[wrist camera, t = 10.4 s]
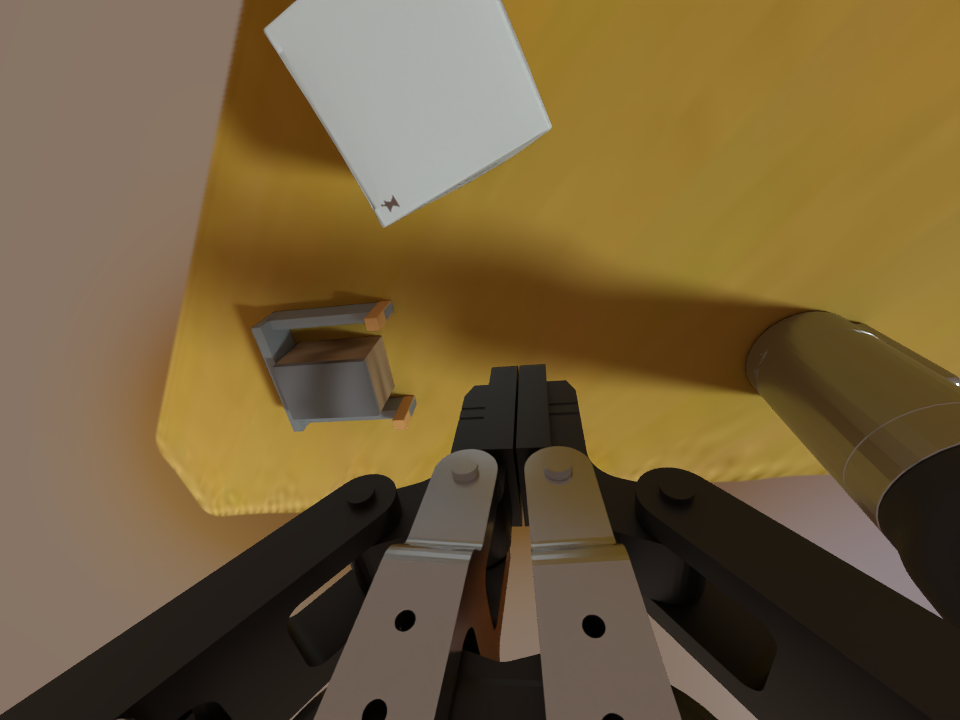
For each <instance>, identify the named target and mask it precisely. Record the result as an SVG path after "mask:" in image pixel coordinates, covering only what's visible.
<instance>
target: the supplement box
mask: <svg viewBox="0 0 960 720" xmlns="http://www.w3.org/2000/svg"><path fill="white" fill-rule="evenodd" d="M263 30H264V33H265V35H266V36H267V38H268V40H269V41H270V43H271V44H272V46H273V47H274V49H275V50H276V52H277V53H278V55H279V56H280V58H281V59H282V61H283V63H284V64H285V66H286V67H287V69H288V70H289V72H290V74H291V75H292V77H293V78H294V80H295V81H296V83H297V85H298V86H299V88H300V89H301V91H302V92H303V94H304V96H305V97H306V99H307V100H308V102H309V104H310V105H311V107H312V108H313V110H314V111H315V113H316V115H317V116H318V118H319V119H320V121H321V123H322V124H323V126H324V127H325V129H326V131H327V132H328V134H329V136H330V137H331V139H332V140H333V142H334V144H335V145H336V147H337V149H338V150H339V152H340V154H341V155H342V157H343V159H344V160H345V162H346V164H347V166H348V167H349V169H350V171H351V172H352V174H353V176H354V177H355V179H356V181H357V183H358V184H359V186H360V188H361V189H362V191H363V193H364V195H365V196H366V198H367V200H368V201H369V203H370V205H371V207H372V209H373V210H374V212H375V214H376V216H377V218H378V220H379V222H380V224H381V225H382V227H386V226H388V225H390V224H392V223H394V222H396V221H397V220H399V219H401V218H403V217H405V216H406V215H408V214H410V213H412V212H414V211H415V210H417V209H419V208H421V207H423V206H425V205H427V204H429V203H431V202H433V201H435V200H437V199H439V198H441V197H442V196H444V195H446V194H448V193H450V192H452V191H454V190H456V189H458V188H460V187H461V186H463V185H465V184H467V183H469V182H471V181H472V180H474V179H476V178H477V177H479V176H481V175H483V174H484V173H486V172H488V171H490V170H491V169H493V168H495V167H497V166H499V165H500V164H502V163H504V162H505V161H506V160H508V159H509V158H511V157H512V156H514V155H515V154H517V153H518V152H520V151H521V150H523V149H524V148H526V147H527V146H528V145H530V144H531V143H533V142H534V141H535V140H537V139H538V138H539V137H541V136H542V135H544V134H545V133H546V132H548V131H549V130H550V129H551V127H552V125H551V123H550V120H549V118H548V115H547V113H546V110H545V107H544V105H543V102H542V100H541V97H540V95H539V92H538V89H537V87H536V84H535V82H534V79H533V77H532V74H531V71H530V69H529V66H528V64H527V61H526V59H525V56H524V54H523V51H522V49H521V47H520V44H519V42H518V39H517V37H516V34H515V32H514V29H513V27H512V25H511V22H510V20H509V17H508V15H507V12H506V10H505V8H504V5H503V3H502V0H296V1H295V2H294V3H292V4H291V5H290V6H289V7H288V8H287V9H286V10H285V11H284V12H282V13H281V14H280V15H279V16H278V17H277V18H276V19H274V20H273V21H272V22H271V23H270V24H268V25H267V26H266V27H265V28H264V29H263Z"/></svg>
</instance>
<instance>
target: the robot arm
mask: <svg viewBox="0 0 960 720" xmlns="http://www.w3.org/2000/svg"><path fill="white" fill-rule="evenodd" d="M746 372H747V377H748V379H749V381H750V383H751V385H752V386H753V387H754V388H755V389H756V390H757V392H758V393H759V394H760V395H761V396H762V397H763V398H764V400H765V401H766V402H767V403H768V404H769V405H770V406H771V408H772V409H773V410H774V411H775V412H776V413H777V415H778V416H779V417H780V418H781V419H782V420H783V421H784V422H785V424H786V425H787V426H788V427H789V428H790V429H791V430H792V432H793V433H794V434H795V435H796V436H797V437H798V438H799V439H800V441H801V442H802V443H803V444H804V445H805V446H806V447H807V449H808V450H809V451H810V452H811V453H812V454H813V455H814V456H815V458H816V459H817V460H818V461H819V462H820V463H821V464H822V466H823V467H824V468H825V469H826V470H827V471H828V472H829V473H830V475H831V476H832V477H833V478H834V479H835V480H836V481H837V483H838V484H839V485H840V486H841V487H842V488H843V489H844V490H845V492H846V493H847V494H848V495H849V496H850V497H851V498H852V499H853V500H854V502H855V503H857V505H858V506H859V507H860V508H861V510H862V511H863V512H864V513H865V514H866V515H867V516H868V517H869V519H870V520H871V521H872V522H873V523H874V524H875V525H876V526H877V528H878V529H879V530H880V531H881V532H882V533H883V534H884V536H886V538H887V539H888V540H889V541H890V542H891V544H892V545H893V546H894V547H895V548H896V549H897V550H898V553H899V555H900V558H901V560H902V562H903V565H904V567H905V569H906V571H907V572H908V574H909V576H910V577H911V579H912V580H913V582H914V583H915V584H916V586H917V587H918V588H919V589H920V591H921V592H922V593H923V595H924V596H925V597H926V598H927V600H928V601H929V602H930V603H931V604H932V606H933V607H934V608H935V609H936V611H937V612H938V613H939V614H940V615H941V617H942V618H943V619H944V620H943V619H942V618H940V617H938V616H937V615H935V614H933V613H932V612H930V611H928V610H926V609H925V608H923V607H921V606H920V605H918V604H916V603H915V602H913V601H911V600H909V599H908V598H906V597H904V596H903V595H901V594H899V593H897V592H896V591H894V590H892V589H891V588H889V587H887V586H886V585H884V584H882V583H880V582H879V581H877V580H875V579H874V578H872V577H870V576H869V575H867V574H865V573H863V572H862V571H860V570H858V569H856V568H855V567H853V566H851V565H850V564H848V563H846V562H845V561H843V560H841V559H839V558H838V557H836V556H834V555H833V554H831V553H829V552H828V551H826V550H824V549H822V548H821V547H819V546H817V545H816V544H814V543H812V542H810V541H809V540H807V539H805V538H804V537H802V536H800V535H799V534H797V533H795V532H793V531H792V530H790V529H788V528H787V527H785V526H783V525H782V524H780V523H778V522H777V521H775V520H773V519H771V518H770V517H768V516H766V515H765V514H763V513H761V512H759V511H758V510H756V509H754V508H753V507H751V506H749V505H747V504H746V503H744V502H742V501H741V500H739V499H737V498H736V497H734V496H732V495H731V494H729V493H727V492H725V491H724V490H722V489H720V488H719V487H717V486H715V485H713V484H712V483H710V482H708V481H707V480H705V479H703V478H702V477H700V476H698V475H696V474H694V473H691V472H689V471H686V470H682V469H677V468H657V469H653V470H650V471H648V472H646V473H644V474H643V475H642V476H641V477H640V478H639V479H638V481H637V482H635V481H630V480H625V479H621V478H617V477H614V476H611V475H609V474H606V473H605V472H603V471H601V470H600V469H598V468H597V467H596V466H595V465H594V464H593V463H592V462H591V461H590V459H589V457H588V455H587V451H586V445H585V440H584V434H583V429H582V423H581V418H580V412H579V406H578V401H577V395H576V390H575V389H574V388H573V387H572V386H571V385H570V384H569V383H568V382H567V381H566V380H563V381H547V380H546V366H545V364H537V365H522V366H520V367H519V370H518V366H508V367H492V370H491V376H490V382H489V385H479V386H474V387H473V388H472V389H471V390H470V391H469V392H468V393H467V394H466V396H465V397H464V401H463V405H462V410H461V414H460V420H459V422H458V426H457V430H456V434H455V438H454V442H453V446H452V450H451V454H449V455H447V456H446V457H444V458H443V459H442V460H441V461H440V462H439V463H438V464H437V465H436V467H435V469H434V471H433V474H432V477H431V478H430V479H428V480H425V481H423V482H420V483H417V484H413V485H410V486H406V487H402V488H399V489H396V487H395V484H394V482H393V481H392V480H391V479H390V478H388V477H387V476H384V475H379V474H370V475H364V476H360V477H358V478H355V479H353V480H351V481H349V482H347V483H346V484H344V485H343V486H341V487H340V488H338V489H337V490H335V491H334V492H332V493H331V494H329V495H328V496H326V497H325V498H323V499H322V500H320V501H319V502H317V503H316V504H314V505H313V506H311V507H310V508H308V509H307V510H305V511H304V512H302V513H301V514H299V515H298V516H296V517H295V518H293V519H292V520H291V521H289V522H288V523H286V524H285V525H283V526H282V527H280V528H279V529H277V530H276V531H274V532H273V533H271V534H270V535H268V536H267V537H265V538H264V539H262V540H261V541H259V542H258V543H256V544H255V545H253V546H252V547H250V548H249V549H247V550H246V551H244V552H243V553H241V554H240V555H238V556H237V557H235V558H234V559H232V560H231V561H229V562H228V563H226V564H225V565H223V566H222V567H220V568H219V569H218V570H216V571H214V572H213V573H211V574H210V575H209V576H207V577H206V578H204V579H203V580H201V581H200V582H198V583H197V584H195V585H194V586H192V587H191V588H189V589H188V590H186V591H185V592H183V593H182V594H180V595H179V596H177V597H176V598H174V599H173V600H171V601H170V602H168V603H167V604H165V605H164V606H162V607H161V608H159V609H158V610H156V611H155V612H153V613H152V614H150V615H149V616H147V617H146V618H144V619H143V620H141V621H140V622H138V623H137V624H135V625H134V626H132V627H131V628H129V629H128V630H126V631H125V632H124V633H122V634H121V635H119V636H117V637H116V638H115V639H113V640H112V641H110V642H109V643H107V644H106V645H104V646H103V647H101V648H100V649H98V650H97V651H95V652H94V653H92V654H91V655H89V656H88V657H86V658H85V659H84V660H82V661H80V662H79V663H77V664H76V665H74V666H73V667H71V668H70V669H68V670H67V671H65V672H64V673H62V674H61V675H60V676H58V677H57V678H55V679H53V680H52V681H50V682H49V683H48V684H46V685H45V686H43V687H42V688H40V689H38V690H37V691H36V692H34V693H33V694H31V695H30V696H28V697H27V698H25V699H24V700H22V701H21V702H19V703H18V704H16V705H15V706H13V707H12V708H10V709H9V710H7V711H6V712H4V713H3V714H1V715H0V720H289V719H290V718H292V717H293V715H295V714H296V713H297V712H298V711H299V710H300V709H301V708H302V707H303V706H304V705H305V704H306V703H307V702H308V701H309V700H310V699H311V698H312V697H313V696H314V695H315V694H316V693H317V692H318V691H320V690H321V689H322V687H324V686H325V685H326V684H327V683H328V682H329V681H330V682H329V685H328V687H327V688H326V689H325V690H324V691H322V692H321V693H320V694H318V696H316V697H315V698H314V699H313V700H312V701H311V702H310V703H309V704H307V705H306V706H305V708H303V709H302V710H301V711H300V712H299V714H298V715H297V716H296V717H295V718H294V719H293V720H718V719H716V718H715V717H714V716H713V715H712V714H711V713H710V712H709V711H708V710H707V709H705V708H704V707H703V706H701V705H700V704H699V703H698V702H696V701H695V700H694V699H692V698H691V697H689V696H688V695H687V694H685V693H684V692H682V691H680V690H678V689H677V688H675V687H674V686H672V685H670V682H669V679H668V676H667V673H666V670H665V667H664V664H663V661H662V657H661V655H660V651H659V648H658V645H657V642H656V639H655V636H654V633H653V630H652V627H651V623H650V620H649V617H648V614H649V615H650V616H651V617H652V618H653V619H654V620H655V621H656V622H657V623H658V624H659V625H660V626H661V627H662V628H663V629H665V630H666V632H668V633H669V634H670V635H671V636H672V637H673V638H674V639H675V640H676V641H677V642H678V643H679V644H680V645H681V646H682V647H683V648H684V649H685V650H686V651H687V652H688V653H689V654H690V655H691V656H693V658H695V659H696V660H697V661H698V662H699V663H700V664H701V665H702V666H703V667H704V668H705V669H706V670H707V671H708V672H709V673H710V674H711V675H712V676H713V677H714V678H715V679H716V680H717V681H718V682H720V683H721V684H722V685H723V686H724V687H725V688H726V689H727V690H728V691H729V692H730V693H731V694H732V695H733V696H734V697H735V698H736V699H737V700H738V701H739V702H740V703H741V704H742V705H743V706H745V707H746V708H747V709H748V710H749V711H750V712H751V713H752V714H753V715H754V716H755V717H756V718H757V719H758V720H960V379H959V378H958V377H957V376H956V375H954V374H952V373H951V372H949V371H947V370H945V369H944V368H942V367H940V366H938V365H937V364H935V363H933V362H931V361H930V360H928V359H926V358H924V357H922V356H921V355H919V354H917V353H915V352H914V351H912V350H910V349H908V348H907V347H905V346H903V345H901V344H900V343H898V342H896V341H894V340H893V339H891V338H889V337H887V336H886V335H884V334H882V333H880V332H878V331H877V330H875V329H873V328H871V327H870V326H868V325H866V324H864V323H860V324H854V323H851V322H850V321H848V320H846V319H844V318H843V317H841V316H839V315H836V314H833V313H829V312H821V311H815V312H805V313H801V314H796V315H793V316H791V317H788V318H786V319H783V320H781V321H780V322H778V323H776V324H775V325H773V326H771V327H770V328H769V329H768V330H766V331H765V332H764V333H763V334H762V335H761V336H760V337H759V338H758V339H757V341H756V342H755V343H754V345H753V346H752V348H751V350H750V352H749V355H748V358H747V361H746ZM522 511H523V512H524V520H525V526H529V527H530V537H531V554H532V565H533V577H534V587H535V599H536V610H537V621H538V631H539V642H540V654H537V655H533V656H529V657H526V658H521V659H517V660H513V661H508V662H500V636H501V628H502V620H503V612H504V605H505V596H506V589H507V582H508V574H509V566H510V545H511V531H512V526H522ZM349 564H350V565H351V568H352V570H350V571H349V572H348V573H347V574H346V575H344V576H343V577H342V578H341V579H339V580H338V581H337V582H336V583H335V584H333V585H332V586H331V587H330V588H328V589H327V590H326V591H325V592H324V593H322V594H321V595H320V596H319V597H318V598H316V599H315V600H314V601H313V602H312V603H310V604H309V605H308V606H307V607H305V608H304V609H303V610H302V611H300V612H299V613H298V614H296V615H295V616H293V617H290V615H291V613H292V612H293V611H294V609H295V608H296V607H297V606H298V605H299V604H300V603H301V602H303V601H304V600H305V599H306V598H308V597H309V596H310V595H311V594H313V593H314V592H315V591H316V590H318V589H319V588H320V587H321V586H323V585H324V584H325V583H326V582H328V581H329V580H330V579H331V578H333V577H334V576H335V575H336V574H338V573H339V572H340V571H341V570H342V569H344V568H345V567H346V566H347V565H349ZM647 613H648V614H647ZM289 617H290V618H289Z"/></svg>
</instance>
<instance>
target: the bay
mask: <svg viewBox="0 0 960 720" xmlns="http://www.w3.org/2000/svg"><path fill="white" fill-rule="evenodd" d="M393 313H394V309H393V305H392V301H391V300H388V301H379V302H377V303H367V304H356V305H345V306H334V307H324V308H313V309H302V310H291V311H280V312H273V313H272V314H270V315H269V316H267V317H266V318H265V319H263V320H262V321H260V322H259V323H257V324H256V325H255V326H253V327H252V328H251V330H252V333H253V335H254V337H255V340H256V342H257V344H258V347H259V349H260V352H261V354H262V356H263V359H264V361H265V363H266V366H267V368H268V371H269V373H270V375H271V378H272V380H273V382H274V385H275V387H276V390H277V392H278V394H279V397H280V399H281V401H282V404H283V406H284V409H285V411H286V413H287V416H288V418H289V421H290V423H291V425H292V428H293V430H294V432H295V431H303V430H304V429H305V428H306V426H307V425H308V424H309V423H311V422H332V421H353V420H374V419H393V420H392V421H393V425H394V428H395V430H407V427H408V425H409V422H410V420H411V417H412V415H413V413H414V410H415V408H416V405H417V404H416V400H415V396H404V397H398V398H388V400H387V401H386V403H385V405H384V407H383V409H382V411H381V413H380V415H379V416H366V417H344V418H321V419H299V420H293V418H292V416H291V413H290V411H289V409H288V406H287V404H286V401H285V399H284V396H283V394H282V391H281V389H280V387H279V384H278V382H277V379H276V377H275V374H274V372H273V369H272V367H273V366H274V365H275V364H276V363H277V362H278V361H279V360H280V359H282V358H283V357H284V356H285V355H286V354H287V353H288V352H289V351H290V350H291V349H293V348H294V347H295V346H296V345H295V343H294V340H293V337H292V335H291V332H290V329H297V328H309V327H320V326H332V325H344V324H355V323H365V325H366V329H367V331H378V330H381V328H382V327H383V326H384V324H385V323H386V322H387V320H388V319H389V318H390V317H391V315H392V314H393Z"/></svg>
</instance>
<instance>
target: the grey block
mask: <svg viewBox="0 0 960 720" xmlns="http://www.w3.org/2000/svg"><path fill="white" fill-rule="evenodd" d="M272 369H273V372H274V374H275V377H276V379H277V382H278V384H279V387H280V389H281V391H282V394H283V396H284V399H285V401H286V404H287V406H288V409H289V411H290V413H291V416H292V418H293V420H299V419H321V418H344V417H366V416H379V415H380V413H381V411H382V409H383V407H384V405H385V403H386V401H387V400H388V398H389V396H390V394H391V392H392V390H393V388H394V387H395V385H394V382H393V378H392V374H391V370H390V366H389V362H388V358H387V355H386V351H385V347H384V343H383V339H382V336H373V337H360V338H346V339H333V340H319V341H306V342H299V343H298V344H297V345H296V346H295V347H294V348H293V349H291V350H290V351H289V352H288V353H287V354H286V355H285V356H284V357H283V358H282V359H280V360H279V361H278V362H277V363H276V364H275V365H274V366H273V367H272Z"/></svg>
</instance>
